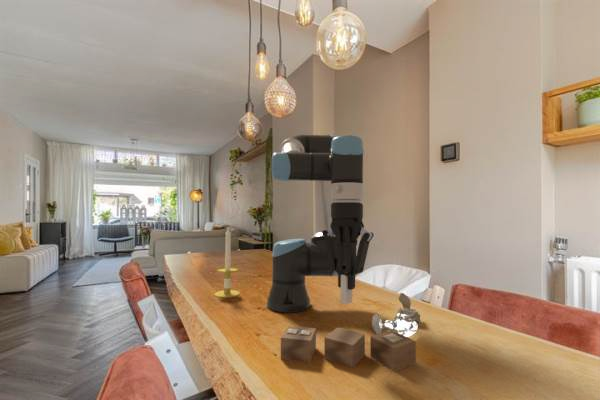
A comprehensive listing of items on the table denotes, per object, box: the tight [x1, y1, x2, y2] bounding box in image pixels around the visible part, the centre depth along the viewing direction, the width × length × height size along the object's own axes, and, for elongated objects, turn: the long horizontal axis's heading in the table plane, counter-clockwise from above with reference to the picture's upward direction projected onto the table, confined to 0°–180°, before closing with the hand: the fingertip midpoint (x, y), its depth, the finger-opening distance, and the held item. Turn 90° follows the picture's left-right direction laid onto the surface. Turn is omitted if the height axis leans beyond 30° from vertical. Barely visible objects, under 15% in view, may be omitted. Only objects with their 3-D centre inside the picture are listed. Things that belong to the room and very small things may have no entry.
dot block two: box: [280, 325, 317, 363], centre depth 72 cm, size 7×7×5 cm
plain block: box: [323, 327, 366, 368], centre depth 70 cm, size 7×7×5 cm
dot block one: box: [369, 330, 417, 372], centre depth 69 cm, size 7×7×5 cm
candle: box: [214, 227, 241, 299], centre depth 121 cm, size 10×10×27 cm
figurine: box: [371, 312, 419, 338], centre depth 83 cm, size 9×6×12 cm
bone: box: [396, 292, 421, 325], centre depth 92 cm, size 9×6×10 cm
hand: (346, 302), depth 71 cm, fingers closed
